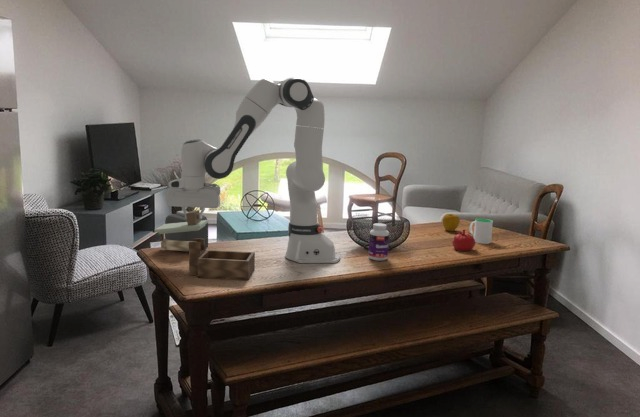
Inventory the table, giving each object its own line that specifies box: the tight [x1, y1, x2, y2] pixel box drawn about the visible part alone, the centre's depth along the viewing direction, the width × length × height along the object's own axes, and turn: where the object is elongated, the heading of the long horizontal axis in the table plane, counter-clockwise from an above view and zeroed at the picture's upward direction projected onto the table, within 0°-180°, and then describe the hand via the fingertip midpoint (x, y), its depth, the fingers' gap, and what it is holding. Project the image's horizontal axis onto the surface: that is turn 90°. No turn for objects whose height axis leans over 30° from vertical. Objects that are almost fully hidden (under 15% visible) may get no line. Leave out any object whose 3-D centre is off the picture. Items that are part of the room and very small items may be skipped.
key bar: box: [160, 239, 195, 252], centre depth 194 cm, size 12×4×3 cm, turn 87°
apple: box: [442, 213, 460, 232], centre depth 277 cm, size 9×8×9 cm
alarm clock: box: [164, 210, 209, 253], centre depth 225 cm, size 16×11×16 cm
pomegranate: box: [451, 229, 476, 252], centre depth 240 cm, size 10×10×9 cm
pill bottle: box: [367, 222, 390, 262], centre depth 220 cm, size 8×8×14 cm
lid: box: [154, 209, 209, 235], centre depth 206 cm, size 17×11×6 cm, turn 86°
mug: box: [468, 218, 494, 245], centre depth 257 cm, size 12×8×10 cm
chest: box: [188, 238, 256, 281], centre depth 194 cm, size 22×12×12 cm, turn 87°
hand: (193, 218), depth 205 cm, fingers closed on lid, 3 cm apart
